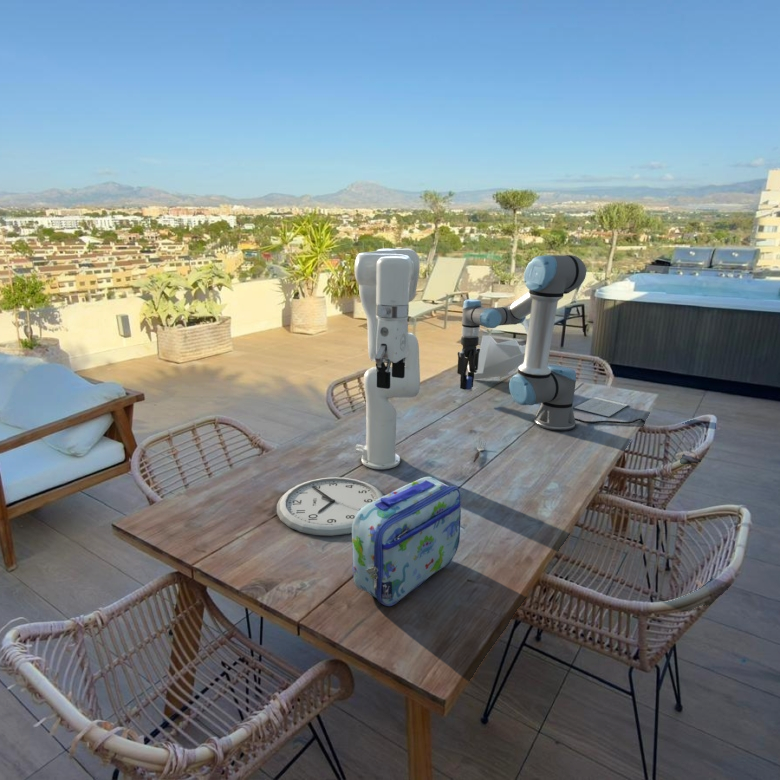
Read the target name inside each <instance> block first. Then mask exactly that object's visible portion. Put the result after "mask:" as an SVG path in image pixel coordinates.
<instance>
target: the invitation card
mask: <svg viewBox="0 0 780 780" xmlns="http://www.w3.org/2000/svg"><path fill="white" fill-rule="evenodd" d="M628 406H629V404H627V403H623V402H618V401H614V400H609V399H605V398H601V397H596V396H593V397H592V398H590V399H588V400H586V401H584V402H582V403H580V404H578V405H575V406H574V407H573V409H575V410H581V411H584V412H587V413H593V414H596V415H600V416H604V417H608V418H609V417H611V416H613V415H614V414H616V413H617V412H619V411H621V410H623V409H624V408H626V407H628Z"/></svg>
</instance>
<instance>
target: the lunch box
mask: <svg viewBox="0 0 780 780" xmlns="http://www.w3.org/2000/svg"><path fill="white" fill-rule="evenodd" d="M461 499H462V497H461V491H460V489H459V488H458V487H457V486H455V485H450V486H449V485H447V484H445V483H444V482H442V481H440V480H438V479H436V478H434V477H432V476H424V477H421V478H419V479H416V480H414V481H412V482H410V483H407V484H405V485H404V486H401V487H399V488H397V489H395V490H392V491H391V492H390V493H386V494H384V496H383V497H381V498H379V499H377V500H375V501H373V502H371V503H369V504H367V505H365V506H364V507H362V508H361V509H360V510H359V512H358V513H357V515H356V516H355V518H354V521H353V526H352V533H351V550H352V576H353V581H354V584H355V587H356V588H358V589H360V590H362V591H364V592H366V593H368V594H370V596H372V597H374V598H375V599H377V601H378V603H379V604H382V605H383V606H385V607H393V606H394V605H396V604H397V603H399V602H400V601H402V599H404V598H405V597H406V596H407V595H409V594H410V593H411V592H413V591H414V590H415V589H416V588H418V587H419V586H420V585H422V584H423V583H424V582H425V581H427V580H428V579H429V578H430V577H432V575H434V574H435V573H437V572H439V571H441V570H442V569H443V568H445V567H446V566H448V565H449V564H450V562H452V560H453V559H454V557H455V555H456V553H457V551H458V549H459V544H460V537H461V519H462V515H461V513H462V512H461V510H462V507H461V505H462V504H461V503H462V502H461Z"/></svg>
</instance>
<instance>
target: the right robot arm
mask: <svg viewBox="0 0 780 780" xmlns="http://www.w3.org/2000/svg"><path fill="white" fill-rule="evenodd" d="M586 277H587V267H586V264H585V262H584V261H583V260H582V259H581V258H580V257H579V256H576V255H572V254H556V255H555V254H545V255H538V256H536V257H535V256H534V258H532V260H530V261H529V262H528V264H527V265H526V266H525V270H524V274H523V281H524V283H525V284H524V285H525V287H526V288H527V289H528V292H526V294H523V296H521V297H520V298H518V299H516V300H515V301H513V302H512V303H511V304H509V305H508V306H497V307H486V306H485V307H484V306H482V301H481V300H480V299H465V300H464V301H463V306H462V317H461V337H460V345H461V346H462V348H461V351H458V352H457V370H456V371H457V372H456V373H457V374H458V375H460V379H459V381H460V382H459V383H460V384H459V389H461V390H465V391H466V383H467V376H470V377H472V388H473V387H474V380H475V379H474V373H476V372H477V371H476V370H478V361H479V352H480V347H477V346H478V345H479V343H480V342H479V341H480V337H479V336H480V326H481V327H484V328H486V329H496V328H497V327H499V326H509V325H510V326H511V325H512V326H513V325H519V324H523V321H524V319H525V318H526V319H527V317H528V315H529V321H528V326H529V328H528V335H527V334H526V342H525V343H526V344H525V345H526V348H525V355H524V362H523V363H522V364H521V365H519V366H518V367H517V368H518V369H517V374H514V375H513V376H512V377H511V378H510V379H509V384H508V385H509V386H508V387H509V392H510V395H511V397H512V399H513V401H515V403H517V404H518V405H521V406H534V405H537V404H540V405H539V407H538V409H537V411H536V413H535V417H534V424H535V425H536V426H537V427H539V428H542V429H544V430H549V431H556V432H567V431H572V430H574V429H575V428H576V421H577V422H580V423H582V424H601V423H602V424H606V423H607V424H621V425H624V424H625V425H627V424H629V425H630V424H634V423H636V422H639V421H641V422H643V423H646V421H645V419H644V418H636V419H633V420H630V421H618V420H593V421H591V420H589V421H588V420H584V419H583V420H582V419H580V418H575V417H576V416H575V413H574V407H573V405H574V399H575V391H576V383H577V372H576V371H575V370H574V369H572V368H571V367H570V368H569V367H566V366H561V365H555V364H549V359H550V353H551V346H552V340H553V334H554V328H555V320H556V315H557V310H558V305H559V301H560V300H561V299H563V298H564V295H567V294H570V293H571V292H573V291H575V290H576V289H577V288H579V287H580V286H581V285H582V284H583V282H584V281H585V280H586ZM468 365H469V371H470V372H469V371H468V372H467V370H468V367H467V366H468Z"/></svg>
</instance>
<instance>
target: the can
mask: <svg viewBox="0 0 780 780" xmlns="http://www.w3.org/2000/svg"><path fill="white" fill-rule="evenodd" d="M472 389H473V387H472V377H470V376H468V375H467V383H466V390H467V391H468V390H472ZM466 390H465V391H466Z"/></svg>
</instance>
